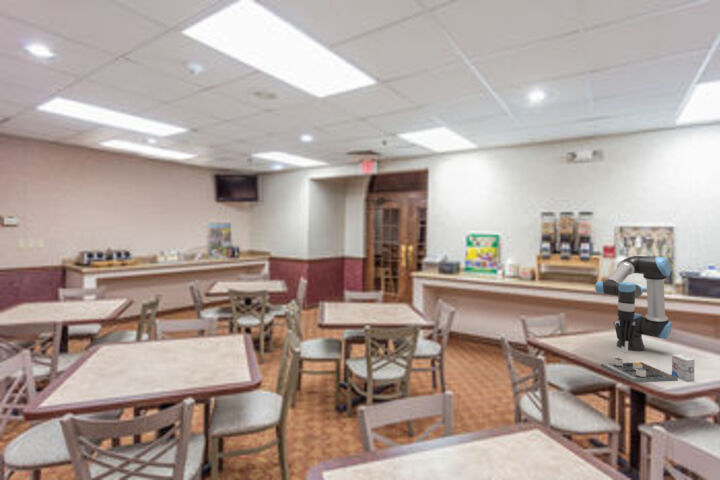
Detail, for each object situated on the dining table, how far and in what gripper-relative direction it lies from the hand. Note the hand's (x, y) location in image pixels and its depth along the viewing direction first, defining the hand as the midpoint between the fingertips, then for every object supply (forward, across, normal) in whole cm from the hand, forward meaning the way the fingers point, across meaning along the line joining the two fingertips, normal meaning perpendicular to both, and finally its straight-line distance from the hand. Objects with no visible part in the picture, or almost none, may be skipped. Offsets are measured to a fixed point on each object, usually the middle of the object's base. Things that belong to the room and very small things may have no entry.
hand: (624, 352), depth 198 cm
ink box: (+12, -27, +8) cm, 31 cm away
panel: (+12, -8, 0) cm, 15 cm away
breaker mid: (+10, -8, 0) cm, 13 cm away
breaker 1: (+10, -3, -8) cm, 13 cm away
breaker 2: (+10, -3, +7) cm, 13 cm away
